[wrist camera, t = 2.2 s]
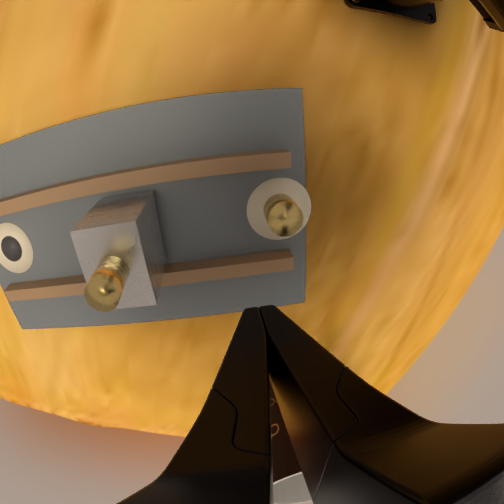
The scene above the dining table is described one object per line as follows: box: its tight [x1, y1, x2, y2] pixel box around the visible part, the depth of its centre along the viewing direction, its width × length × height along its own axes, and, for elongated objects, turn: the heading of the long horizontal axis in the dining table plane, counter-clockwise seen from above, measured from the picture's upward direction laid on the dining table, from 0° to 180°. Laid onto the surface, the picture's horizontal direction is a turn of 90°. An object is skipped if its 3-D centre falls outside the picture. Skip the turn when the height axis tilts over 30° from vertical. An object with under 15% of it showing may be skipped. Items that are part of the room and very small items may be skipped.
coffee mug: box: [269, 377, 312, 504], centre depth 21 cm, size 12×9×10 cm
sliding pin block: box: [70, 190, 167, 312], centre depth 13 cm, size 3×4×6 cm
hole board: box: [0, 88, 311, 329], centre depth 17 cm, size 21×13×2 cm, turn 94°
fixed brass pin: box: [263, 194, 304, 237], centre depth 16 cm, size 2×2×2 cm
